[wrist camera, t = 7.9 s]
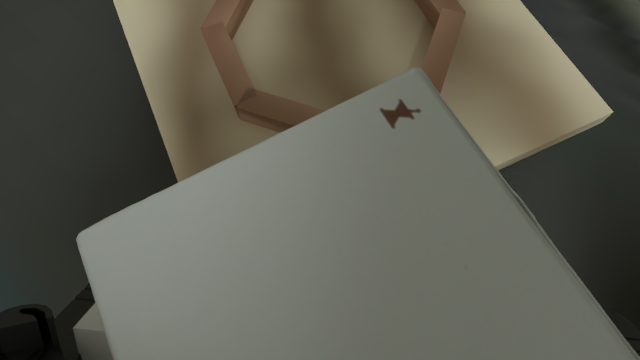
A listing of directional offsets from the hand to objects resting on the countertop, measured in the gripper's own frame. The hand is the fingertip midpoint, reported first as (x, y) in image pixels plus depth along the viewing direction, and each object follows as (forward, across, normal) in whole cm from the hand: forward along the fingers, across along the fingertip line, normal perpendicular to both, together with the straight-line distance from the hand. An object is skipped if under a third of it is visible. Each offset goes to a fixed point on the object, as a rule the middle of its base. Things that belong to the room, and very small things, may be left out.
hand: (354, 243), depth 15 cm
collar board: (+12, -2, +5) cm, 13 cm away
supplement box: (+1, 0, -6) cm, 6 cm away
